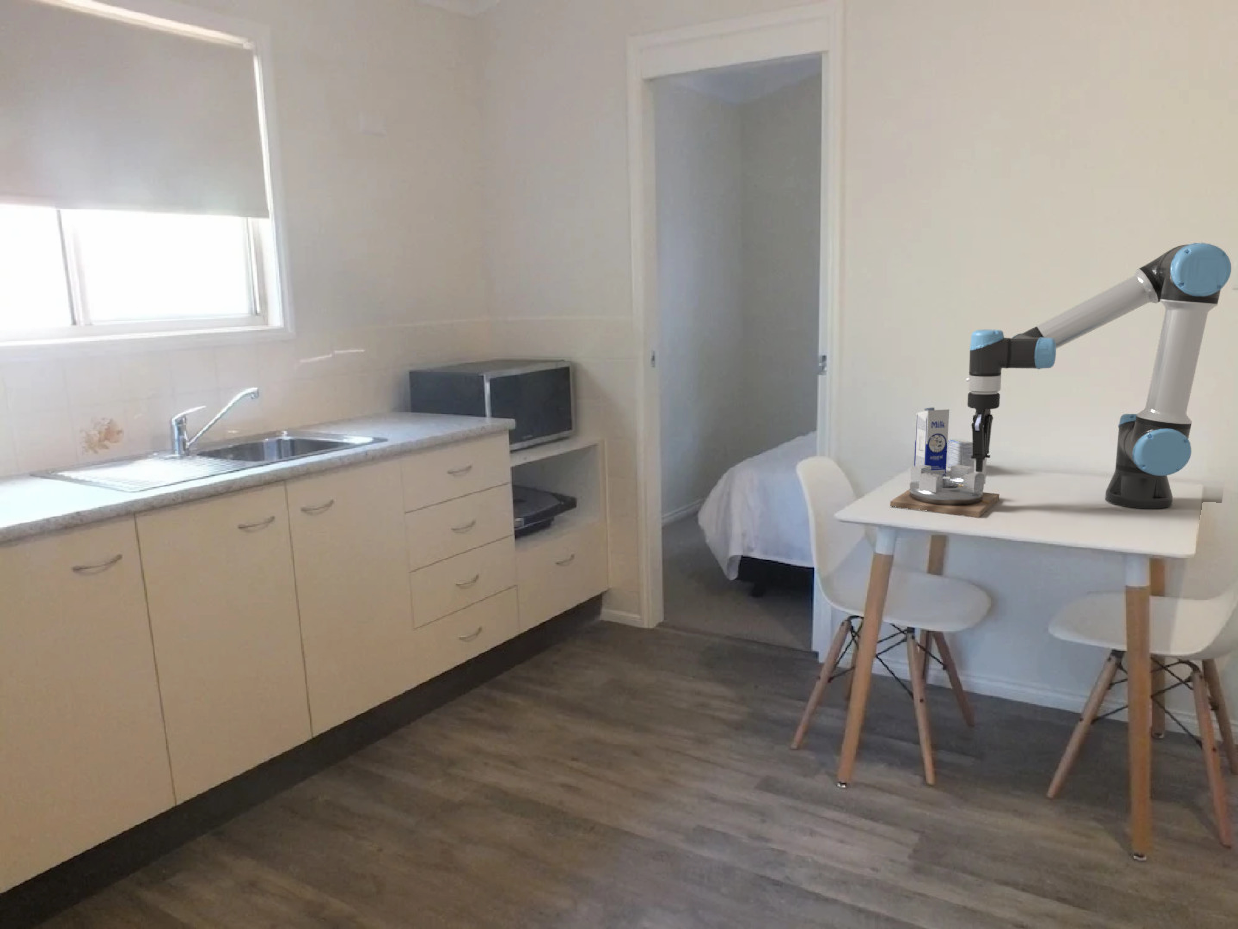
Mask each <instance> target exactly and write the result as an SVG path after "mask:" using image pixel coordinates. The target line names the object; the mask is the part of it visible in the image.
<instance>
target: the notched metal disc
mask: <svg viewBox="0 0 1238 929" xmlns="http://www.w3.org/2000/svg"><path fill="white" fill-rule="evenodd" d="M973 468H974V467H970V466H964V465H953V466H951V468H950V474H949V476H950V477H949V478H944V475H938V474H931V466H927V465H917V466H914V465H913V466H911V467H910V480H909V481H910V483H909V489H910V497H911V498H913V499H915V500H918V501H921V502H926V503H932V504H941V505H968V504H975V503H978V502H981V501H982V499H983V492H984V490H985V488H984V487H985V484H984V474H979V473H974V470H973Z"/></svg>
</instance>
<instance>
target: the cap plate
mask: <svg viewBox="0 0 1238 929" xmlns="http://www.w3.org/2000/svg"><path fill="white" fill-rule="evenodd" d="M999 500H1000V493H994V492H984V491H983V499H982V501H981V502H978V503H975V504H968V505H941V504H932V503H926V502H921V501H918V500H915V499H913V498H911V497H910V488H908V490H905V491H904V492H903V493H901V494H900V495H898V496H897V497H895V498H893V499H892V500H890V501H889V502H890V504H889V507H890V506H896V507H901V508H900V509H902V508H908V509H907V510H911V509H920V510H927V511H932V512H931V513H936V512H940V513H939V514H944V513H947V514H946V515H952V514H953V515H954V516H961V515H965V516H964V517H969V516H971V517H970V518H981V516H983V515H984V514H985V513H986V512H987V511H988V510H989V509H990V508H991V507H993V506H994V505H995V504H996V503H998V502H999ZM927 511H926V512H927Z"/></svg>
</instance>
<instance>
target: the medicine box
mask: <svg viewBox="0 0 1238 929" xmlns="http://www.w3.org/2000/svg"><path fill="white" fill-rule="evenodd" d="M972 455H973V441H969V440H965V439H962V438H955V439H953V438H952V439H948V443H947V462H946V467H947V466H948V467H947V468H950V469H951V466H953V465H964V466H970V467H974V459H972V458H971V456H972ZM973 471H974V468H973Z"/></svg>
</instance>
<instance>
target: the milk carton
mask: <svg viewBox="0 0 1238 929" xmlns="http://www.w3.org/2000/svg"><path fill="white" fill-rule="evenodd" d="M915 414H916V415H915V432H914V433H915V436H914V437H915V438H914V440H915V441H914V458H913V459H914V460H913V467H914V466H917V465H927V466H931V474H938V475H943V476H946V475H947V454H948V440H949V421H950V420H949V419H950V409H935V407H925V408H924V410H923V411H919V412H916V413H915Z"/></svg>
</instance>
